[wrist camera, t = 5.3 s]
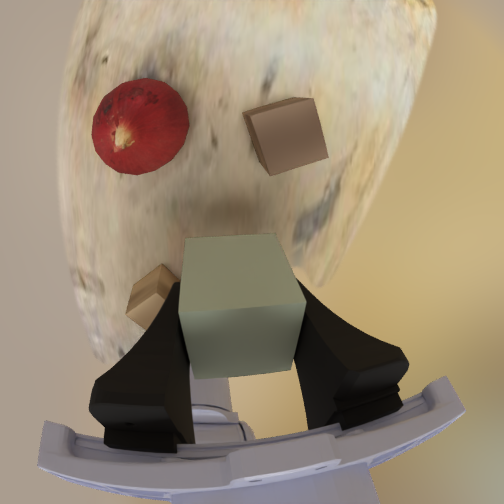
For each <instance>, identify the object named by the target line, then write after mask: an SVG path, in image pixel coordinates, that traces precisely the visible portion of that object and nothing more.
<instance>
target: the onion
mask: <svg viewBox="0 0 504 504" xmlns="http://www.w3.org/2000/svg"><path fill="white" fill-rule="evenodd" d="M188 129H189V119H188V112H187V106H186V105H185V103H184V102H183V100H182V98H181V97H180V95H179V94H178V92H177V91H175V90H174V89H173V88H171V87H170V86H169V85H167V84H166V83H165V82H162V81H157V80H153V79H148V78H143V79H138V80H133V81H129V82H125V83H122V84H120V85H119V86H118V87H116V88H115V89H114V90H112V91H111V92H110V93H108V94H107V95H106V96H104V98H103V99H102V101H101V103H100V105H99V107H98V109H97V111H96V113H95V115H94V117H93V125H92V139H93V143H94V147H95V151H96V152H97V154H98V155H99V156H100V158H101V159H102V160H103V161H104V163H105V164H106V165H108V166H109V167H111V168H112V169H114V170H115V171H117V172H118V173H125V174H132V175H140V174H144V173H148V172H152V171H155V170H157V169H159V168H160V167H162V166H163V165H165V164H166V163H168V162H169V161H171V160H172V159H173V158H174V156H175V155H176V154H177V153H178V151H179V150H180V149H181V147H182V146H183V145H184V142H185V139H186V135H187V132H188Z"/></svg>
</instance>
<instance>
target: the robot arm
mask: <svg viewBox="0 0 504 504" xmlns="http://www.w3.org/2000/svg"><path fill="white" fill-rule="evenodd" d="M296 280H297V282H298V284H299V286H300V288H301V291H302V293H303V295H304V297H305V300H306V306H305V311H304V316H303V320H302V325H301V329H300V333H299V338H298V342H297V346H296V350H295V354H294V358H293V359H294V362H295V365H296V369H297V373H298V377H299V382H300V386H301V391H302V396H303V401H304V406H305V412H306V418H307V424H308V431H304V432H298V433H294V434H288V435H282V436H276V437H271V438H264V439H255V436H254V432H253V431H252V429H251V428H250V427H249V426H248V425H247V423H246V422H244V421H239V419H238V413H237V412H232V405H231V397H230V390H229V382H228V377H227V378H212V379H194V375H193V371H192V367H191V364H190V360H189V356H188V352H187V348H186V344H185V339H184V335H183V331H182V326H181V322H180V317H179V313H178V311H179V297H180V285H181V282H174V283H173V285H172V287H171V289H170V291H169V294H168V296H167V297H166V299H165V301H164V303H163V305H162V307H161V308H160V310H159V312H158V314H157V315H156V317H155V318H154V320H153V321H152V323H151V324H150V326H149V327H148V329H147V330H146V332H145V333H144V334H143V335H142V337H141V338H140V339H139V341H138V342H137V343H136V344H135V345H134V346H133V347H132V349H131V350H130V351H129V352H128V353H127V354H126V355H125V356H124V357H123V358H122V359H121V360H120V361H119V362H117V363H116V364H115V365H114V366H113V367H112V368H111V369H110V370H108V371H107V372H106V373H104V374H103V375H102V376H100V377H99V378H98V379H97V380H95V384H94V386H93V389H92V393H91V398H90V404H89V411H90V413H91V414H92V416H93V417H94V418H96V420H97V421H98V422H100V423H101V424H102V425H103V426H104V427H105V432H104V438H99V437H93V436H88V435H83V434H78V433H75V431H73V430H72V429H71V428H69V427H67V426H65V425H62V424H58V423H54V422H50V421H44V426H43V432H42V437H41V443H40V449H39V456H38V464H37V466H38V467H39V468H40V469H42V470H44V471H46V472H48V473H51V474H53V475H55V476H57V477H59V478H61V479H64V480H66V481H69V482H72V483H76V484H79V485H82V486H86V487H90V488H94V489H98V490H102V491H106V492H111V493H116V494H121V495H126V496H132V497H138V498H145V499H153V500H163V501H169V502H171V503H172V504H380V502H379V498H378V495H377V492H376V489H375V487H374V484H373V481H372V478H371V475H370V472H369V468H372V467H374V466H377V465H379V464H381V463H383V462H385V461H388V460H389V459H392V458H394V457H396V456H398V455H400V454H402V453H404V452H406V451H408V450H409V449H412V448H413V447H415V446H417V445H419V444H421V443H423V442H424V441H426V440H428V439H430V438H431V437H433V436H435V435H436V434H438V433H440V432H441V431H442V430H444V429H445V428H446V427H448V426H449V425H450V424H451V423H453V422H454V421H455V420H456V419H458V418H459V417H460V416H461V415H462V414H464V413H465V412H466V410H465V408H464V406H463V404H462V402H461V400H460V399H459V397H458V395H457V393H456V392H455V390H454V388H453V386H452V385H451V383H450V381H449V380H448V378H447V376H443V377H441V378H439V379H437V380H435V381H433V382H431V383H430V384H429V385H427V386H426V387H425V388H424V389H423V391H422V392H421V393H419V394H417V395H414V396H412V397H410V398H408V399H405V400H403V401H401V399H400V397H399V395H398V392H399V391H400V388H399V386H398V385H397V383H398V382H399V381H400V380H401V379H402V377H403V376H404V375H405V373H406V372H407V370H408V367H409V362H408V360H407V358H406V357H405V355H404V353H403V352H402V350H401V349H400V347H397V346H394V345H391V344H388V343H386V342H383V341H381V340H379V339H376V338H374V337H372V336H370V335H368V334H366V333H364V332H362V331H360V330H359V329H357V328H355V327H354V326H352V325H350V324H349V323H347V322H346V321H344V320H343V319H342V318H340V317H339V316H337V315H336V314H334V313H333V312H332V311H331V310H330V309H328V308H327V307H326V306H325V305H323V304H322V303H321V302H320V301H319V300H318V299H317V298H316V297H315V296H314V295H312V293H310V291H309V290H307V288H305V286H304V285H303V284H302V283H301V282H300V281H299V280H298V279H297V278H296Z"/></svg>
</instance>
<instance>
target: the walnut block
mask: <svg viewBox="0 0 504 504" xmlns="http://www.w3.org/2000/svg"><path fill="white" fill-rule="evenodd" d="M242 114H243V117H244V119H245V122H246V125H247V128H248V131H249V133H250V136H251V139H252V142H253V145H254V148H255V151H256V154H257V156H258V159H259V162H260V163H261V165H262V166H263V167H264V169H265V170H266V171H267V172H268V174H269V175H270V176H273V175H276V174H279V173H282V172H285V171H288V170H291V169H294V168H297V167H300V166H303V165H307V164H310V163H313V162H316V161H319V160H323V159H326V158H329V157H328V153H327V148H326V144H325V140H324V136H323V132H322V128H321V124H320V120H319V117H318V113H317V109H316V106H315V102H314V99H313V98H295V97H294V98H290V99H286V100H283V101H279V102H275V103H272V104H268V105H265V106H262V107H258V108H255V109H252V110H249V111H246V112H243V113H242Z"/></svg>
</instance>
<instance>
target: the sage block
mask: <svg viewBox="0 0 504 504" xmlns="http://www.w3.org/2000/svg"><path fill="white" fill-rule="evenodd" d="M305 306H306V300H305V297H304V295H303V293H302V291H301V288H300V286H299V284H298V282H297V280H296V277H295V275H294V273H293V271H292V268H291V266H290V264H289V262H288V260H287V258H286V255H285V253H284V251H283V249H282V247H281V245H280V242H279V240H278V238H277V236H276V234H275V233H272V234H250V235H231V236H212V237H195V238H185V246H184V255H183V264H182V275H181V285H180V297H179V311H178V313H179V317H180V322H181V326H182V331H183V335H184V339H185V344H186V348H187V352H188V356H189V360H190V364H191V367H192V371H193V375H194V379H212V378H227V377H238V376H248V375H257V374H266V373H273V372H280V371H287V370H291V366H292V362H293V358H294V354H295V350H296V346H297V342H298V338H299V333H300V329H301V325H302V320H303V316H304V311H305Z"/></svg>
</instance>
